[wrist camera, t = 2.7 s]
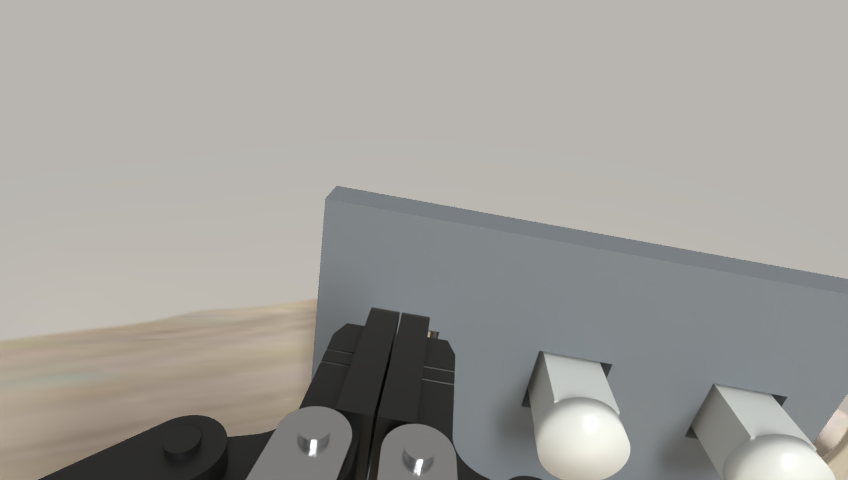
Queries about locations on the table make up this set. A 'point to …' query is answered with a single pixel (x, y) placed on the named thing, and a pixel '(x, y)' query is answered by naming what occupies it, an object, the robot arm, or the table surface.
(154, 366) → the table surface
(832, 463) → the silver metal cup
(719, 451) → the button
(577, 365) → the middle button
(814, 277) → the button panel
